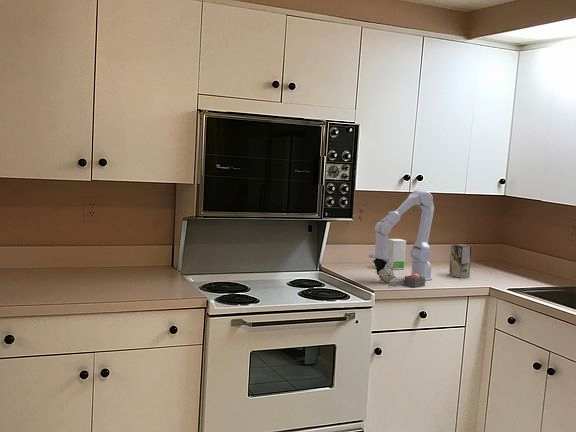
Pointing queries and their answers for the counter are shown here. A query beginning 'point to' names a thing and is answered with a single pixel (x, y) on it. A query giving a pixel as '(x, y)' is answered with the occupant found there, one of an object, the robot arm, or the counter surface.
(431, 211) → the robot arm
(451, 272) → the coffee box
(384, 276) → the game die
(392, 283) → the bar
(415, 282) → the dome housing
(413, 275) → the dome
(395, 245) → the skincare box
